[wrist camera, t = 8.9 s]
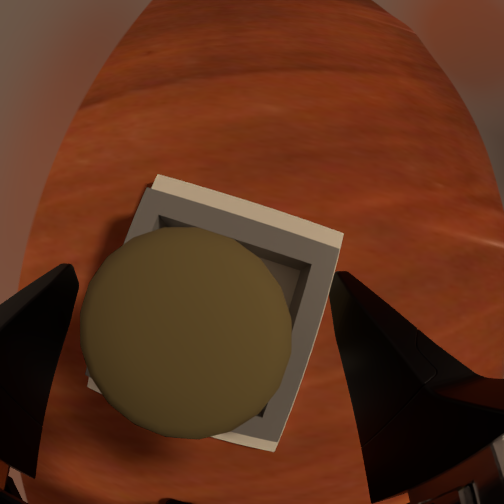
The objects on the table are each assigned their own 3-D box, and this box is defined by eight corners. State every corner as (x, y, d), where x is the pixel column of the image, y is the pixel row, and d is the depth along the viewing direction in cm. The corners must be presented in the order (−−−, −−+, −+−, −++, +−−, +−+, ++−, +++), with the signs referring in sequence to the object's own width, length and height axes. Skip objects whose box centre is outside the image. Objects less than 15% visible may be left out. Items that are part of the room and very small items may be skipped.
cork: (150, 360, 15) (37, 428, 4) (167, 257, 16) (73, 174, 6) (256, 380, 15) (297, 490, 5) (273, 275, 17) (345, 214, 6)
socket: (272, 445, 16) (280, 471, 12) (93, 383, 16) (67, 396, 12) (338, 237, 18) (360, 221, 15) (160, 180, 18) (147, 155, 15)
